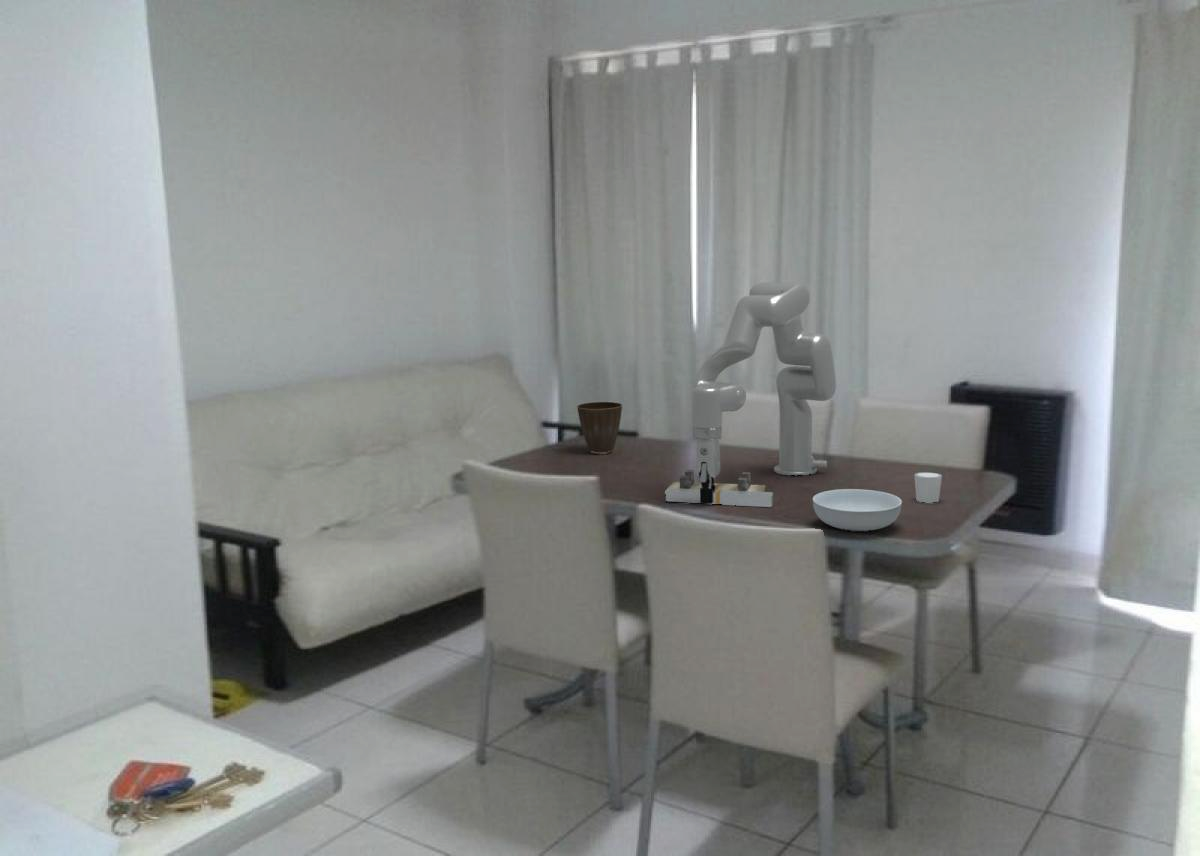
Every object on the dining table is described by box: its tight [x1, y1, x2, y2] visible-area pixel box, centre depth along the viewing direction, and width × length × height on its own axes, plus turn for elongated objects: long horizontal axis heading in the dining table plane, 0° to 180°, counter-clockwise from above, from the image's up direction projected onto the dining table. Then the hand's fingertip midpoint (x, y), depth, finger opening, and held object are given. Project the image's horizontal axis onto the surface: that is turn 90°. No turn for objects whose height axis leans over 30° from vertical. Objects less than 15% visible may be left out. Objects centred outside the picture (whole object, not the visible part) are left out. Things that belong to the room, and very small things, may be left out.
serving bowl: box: [812, 488, 903, 532], centre depth 247 cm, size 21×21×7 cm
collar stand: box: [664, 469, 766, 495], centre depth 284 cm, size 26×12×5 cm, turn 74°
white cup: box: [914, 471, 943, 504], centre depth 270 cm, size 7×7×7 cm
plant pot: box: [576, 401, 623, 452], centre depth 343 cm, size 15×15×16 cm
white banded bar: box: [665, 487, 774, 508], centre depth 272 cm, size 28×3×3 cm, turn 74°
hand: (707, 500), depth 273 cm, fingers closed on white banded bar, 3 cm apart
